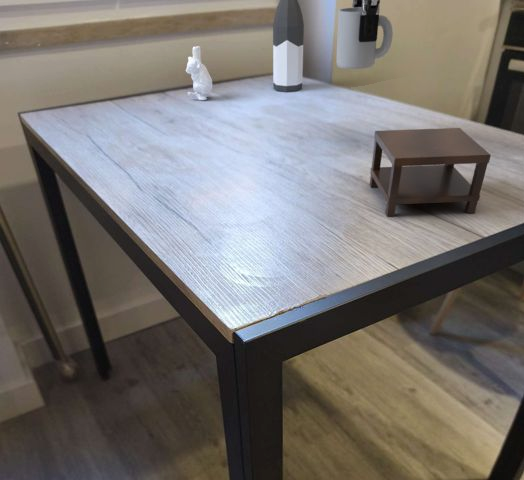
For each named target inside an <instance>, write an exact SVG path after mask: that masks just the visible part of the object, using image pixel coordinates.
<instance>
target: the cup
mask: <svg viewBox="0 0 524 480" xmlns="http://www.w3.org/2000/svg"><path fill="white" fill-rule="evenodd" d="M337 13H338V15H337V18H338V19H337V37H336V38H337V39H336V60H335V61H336V67H338V68H340V69H344V70H362V69H368V68H372V67H374V65H375V61H376V59H381V58H383V57H384V56H385V55H386V54H388V52H389V51H390V48H391V45H392V43H393V35H394V34H393V33H394V32H393V26H392V23H391V21H390V19H389V18H388V17H387V16H385V15H383V14H382V15H381V14H379V22H378V27H381V28H382V33H383V36H382V37H383V38H382V42H381V45H380V47H378V48H377V41H378V39H377V40H376V41H375V42H360V41H359V26H360V15H362V7H344V8H340V9H338V11H337Z"/></svg>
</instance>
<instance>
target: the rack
mask: <svg viewBox="0 0 524 480" xmlns="http://www.w3.org/2000/svg"><path fill="white" fill-rule="evenodd" d="M373 138H374V143H373V152H372V160H371V167H370V170H369V171H370V172H369V175H370V176H369V177H370V178H369V187H370V188H378V189H379V192H380V193H381V194H382V196H383V198H384V200H385V201H386V205H385V213H384V214H385V216H386V217H395V215H396V208H397V205H410V204H413V205H414V204H436V203H461V202H464V203H465V202H466V203H465V207H464V212H466V214H475V213H476V209H477V205H478V202H479V201H480V198H481V191H482V188H483V187H482V186H483V182H484V179H485V175H486V172H487V167H488V164H489V163H490V160H491V157H492V155H491V154H490V153H489V152H488V151H487V150H486V149H485V148H484V147H482V146H481V145H480V144H479V143H478V142H477V141H475V139H473V138H472V137H471V136H470V135H469V134H467V132H465V131H464V130H463V129H462V128H461V127H446V128H442V127H441V128H418V129H417V128H416V129H415V128H413V129H389V130H374V136H373ZM383 153H384V155H385V156H386V157H387V159H388V160H389V162H390V163H391V166H381V164H382V157H383ZM464 164H465V165H468V164H469V165H470V164H473V165H474V164H475V167H474V171H473V175H472V179H471V182H469V181H468V180H467V179H466V178H465V177H464V176H463V175H462V174H461V172H459V170H457V168H456V167H455V165H464Z"/></svg>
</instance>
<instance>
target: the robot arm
mask: <svg viewBox="0 0 524 480" xmlns="http://www.w3.org/2000/svg"><path fill="white" fill-rule="evenodd" d="M380 4H381V0H352V7H362V15H360V26H359V41H360V42H375V41H376V40H377V41H378V33H379V26H378V22H379V15H380ZM352 7H351V8H352ZM377 41H376V42H377Z"/></svg>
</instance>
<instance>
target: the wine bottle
mask: <svg viewBox="0 0 524 480" xmlns="http://www.w3.org/2000/svg"><path fill="white" fill-rule="evenodd" d="M304 33H305V23H304V18H303V13H302V9H301V6H300V2H299V1H298V0H279V2H278V4H277V7H276V10H275V13H274V17H273V22H272V65H273V66H272V68H273V69H272V77H273V78H272V81H273V82H272V84H273V89H274V90H275V91H276V92H282V93H292V92H299V91H301V90H302V89H303V71H304V69H303V68H304V39H305V38H304V36H305V35H304Z"/></svg>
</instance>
